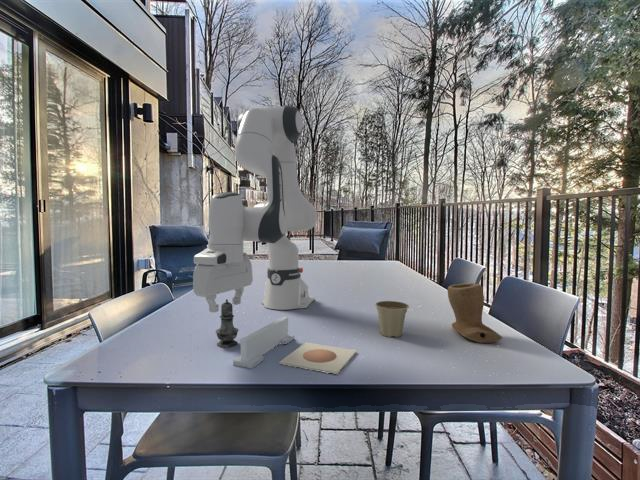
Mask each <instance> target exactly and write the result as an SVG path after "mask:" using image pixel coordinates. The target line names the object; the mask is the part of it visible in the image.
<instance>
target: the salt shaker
mask: <svg viewBox="0 0 640 480" xmlns="http://www.w3.org/2000/svg"><path fill="white" fill-rule="evenodd" d="M233 308H234V307H233V303H231V302H229V300H228V298H226V299H225V302H223V303H222V304H221V309H220V311H221V313H220V316H219V318H220V327H219V328H218V329H216V330H215V334H216V336H217V339H218V340H219V341H218V342H217V343H216V346H217V347H219V348H226V349H227V348H232V347H236V346H237V345H238V341H237V340H235V339H236V338H237V336H238V332H239V331H240V330H239V328H237V327H235V326H234V318H235V315H234V313H233V311H234V310H233Z"/></svg>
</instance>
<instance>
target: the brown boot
mask: <svg viewBox="0 0 640 480" xmlns="http://www.w3.org/2000/svg"><path fill="white" fill-rule="evenodd" d="M447 297H448V302H449V304H450V306H451V309H452V311H453V315H454V317H455V321H454V322H452V323H451V328H452V329H453V330H454V331H456V332H457V333H458V334H460V335H461V336H463V338H466V339H468V340H470V341H473V342H476V343H482V344H487V343H494V342H495V343H496V342H499V341H501V340H502V339H503V336H502V335H500V334H499V332H496V330H494V329H492V328H490V327H489V326H487V325H485V324H484V323H483V317H482V316H483V310H484V306H485V295H484V288H483V287H482V285H481V284H480V283H472V282H468V283H467V282H466V283H459V284H458V283H457V284H451V285H449V286H448V287H447Z"/></svg>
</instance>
